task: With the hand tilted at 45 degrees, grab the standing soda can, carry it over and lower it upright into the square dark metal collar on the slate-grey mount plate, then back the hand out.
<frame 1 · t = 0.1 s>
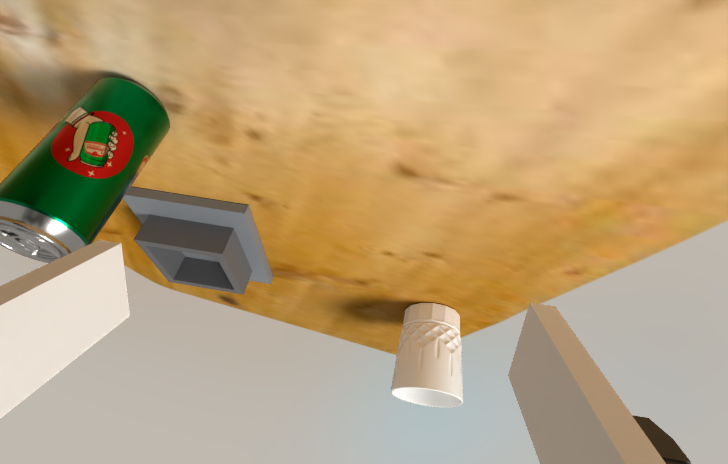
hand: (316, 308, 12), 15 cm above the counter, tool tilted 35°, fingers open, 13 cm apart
mount: (208, 237, 41), on the counter
white cup: (432, 312, 48), on the counter
soda can: (138, 102, 27), on the counter
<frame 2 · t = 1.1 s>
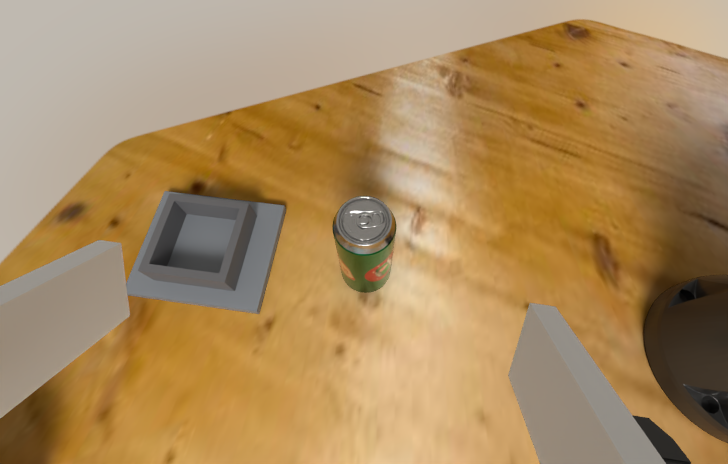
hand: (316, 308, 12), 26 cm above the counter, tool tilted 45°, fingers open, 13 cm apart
mount: (210, 250, 41), on the counter
soda can: (365, 271, 40), on the counter
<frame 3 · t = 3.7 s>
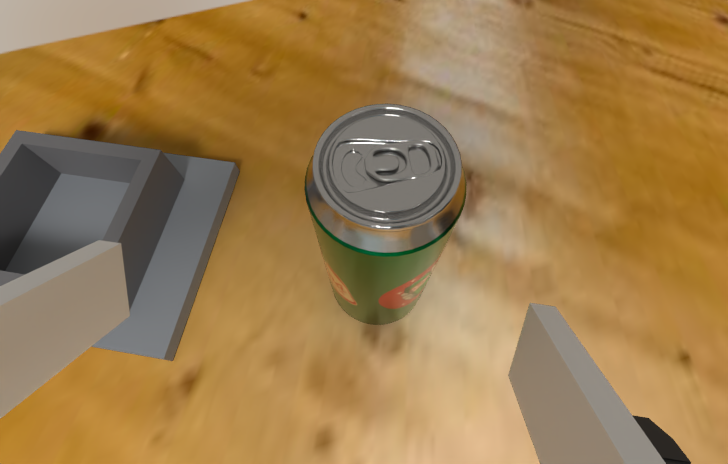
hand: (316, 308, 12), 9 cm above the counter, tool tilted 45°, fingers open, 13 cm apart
mount: (99, 238, 23), on the counter
soda can: (376, 283, 22), on the counter
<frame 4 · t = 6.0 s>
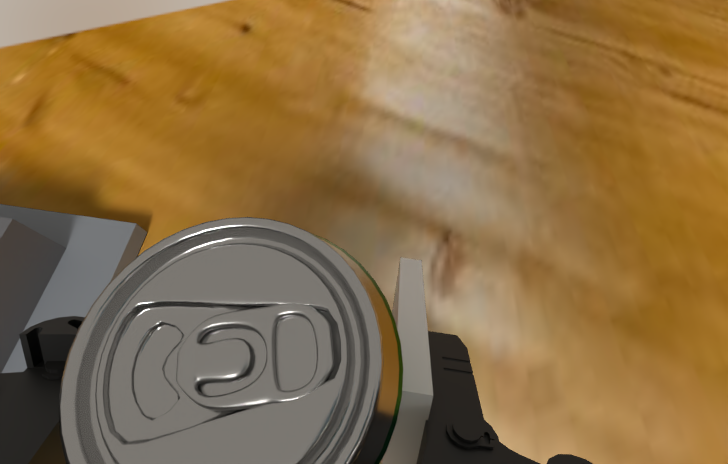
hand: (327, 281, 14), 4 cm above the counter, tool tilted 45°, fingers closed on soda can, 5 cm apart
soda can: (319, 393, 16), on the counter, touching gripper
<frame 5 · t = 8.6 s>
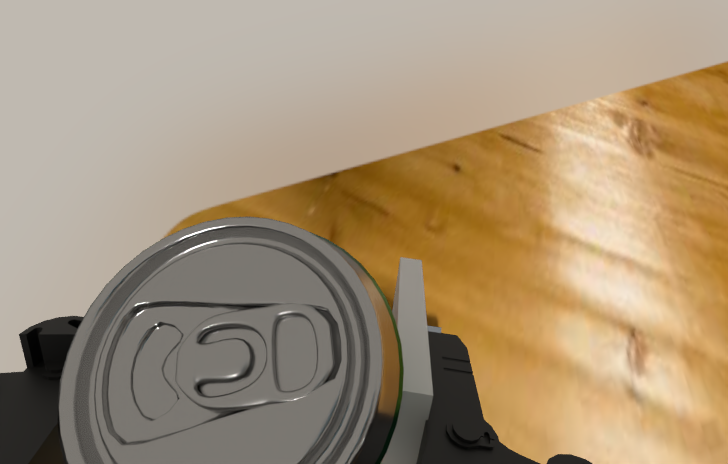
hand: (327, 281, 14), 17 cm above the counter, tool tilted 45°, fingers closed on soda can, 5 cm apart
soda can: (319, 393, 16), point 13 cm above the counter, touching gripper
when the fingers open (7 cm above the counter, at t = 11.5 s): soda can drops 2 cm, resting on mount.
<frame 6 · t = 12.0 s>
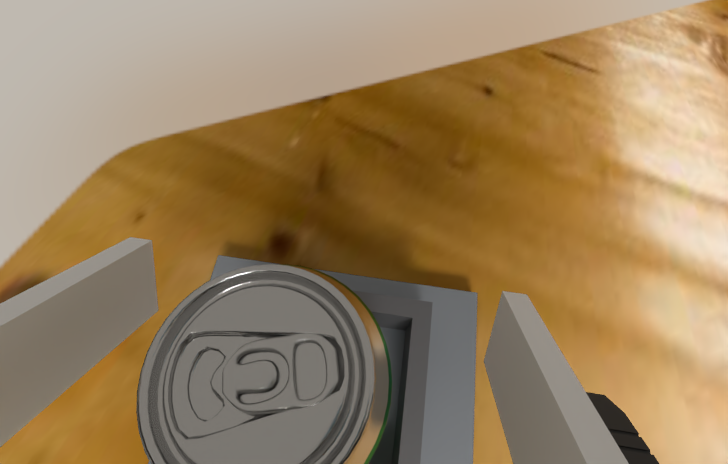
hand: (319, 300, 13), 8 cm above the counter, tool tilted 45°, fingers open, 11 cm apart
mount: (325, 395, 19), on the counter
soda can: (322, 395, 18), point 1 cm above the counter, touching mount
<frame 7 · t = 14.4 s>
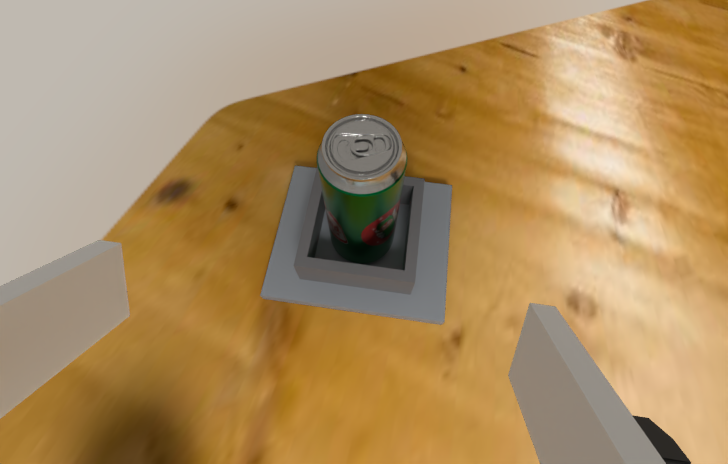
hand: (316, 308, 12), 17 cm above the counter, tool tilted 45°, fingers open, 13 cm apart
mount: (362, 241, 32), on the counter
soda can: (362, 238, 31), point 1 cm above the counter, touching mount
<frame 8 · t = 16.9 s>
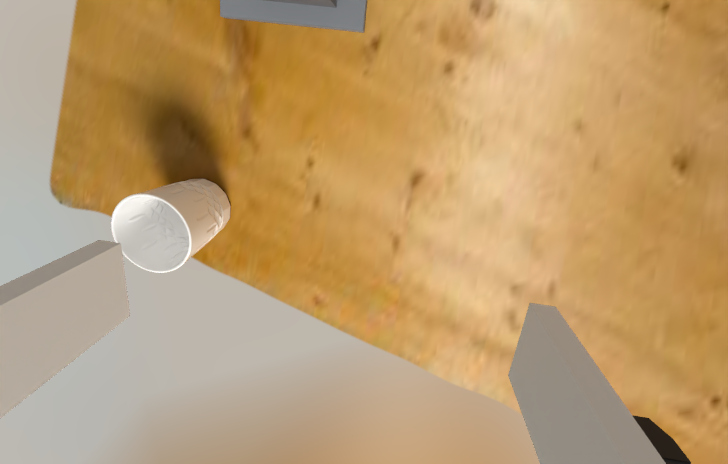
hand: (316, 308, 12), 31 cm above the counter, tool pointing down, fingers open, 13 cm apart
white cup: (204, 205, 45), on the counter
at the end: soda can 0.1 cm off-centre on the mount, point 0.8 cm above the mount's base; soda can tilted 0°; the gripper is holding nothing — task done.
